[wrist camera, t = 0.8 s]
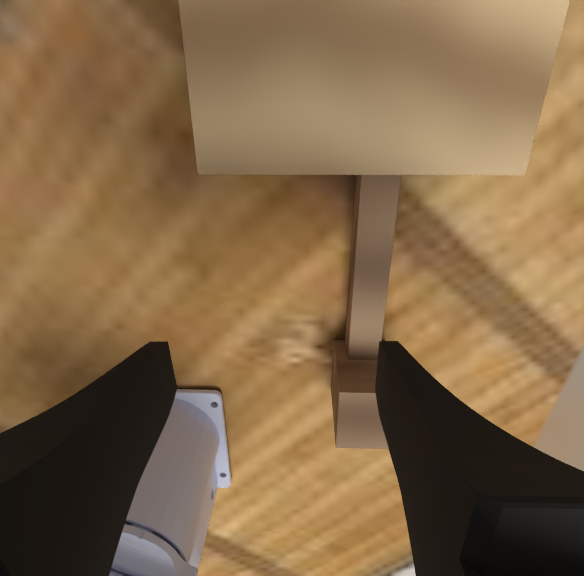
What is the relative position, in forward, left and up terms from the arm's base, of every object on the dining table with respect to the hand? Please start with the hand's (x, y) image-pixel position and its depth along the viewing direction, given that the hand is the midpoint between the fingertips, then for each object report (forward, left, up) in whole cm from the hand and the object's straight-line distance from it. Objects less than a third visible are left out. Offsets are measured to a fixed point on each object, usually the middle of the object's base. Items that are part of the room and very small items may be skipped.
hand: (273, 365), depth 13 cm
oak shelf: (+9, -3, -10) cm, 14 cm away
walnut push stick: (-2, -5, -10) cm, 11 cm away
